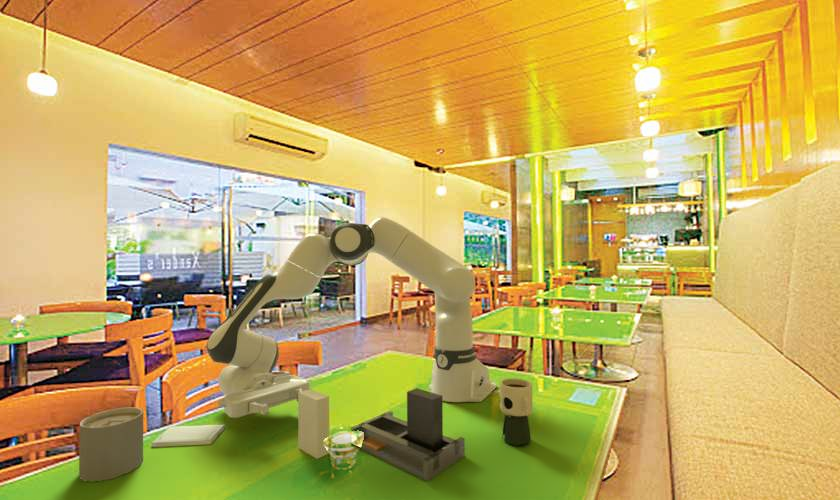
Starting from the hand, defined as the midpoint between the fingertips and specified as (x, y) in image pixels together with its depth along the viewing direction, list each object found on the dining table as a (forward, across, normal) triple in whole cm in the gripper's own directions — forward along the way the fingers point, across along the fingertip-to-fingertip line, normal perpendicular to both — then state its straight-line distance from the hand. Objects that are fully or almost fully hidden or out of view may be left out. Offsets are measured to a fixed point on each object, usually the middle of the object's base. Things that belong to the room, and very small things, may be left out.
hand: (285, 404), depth 92 cm
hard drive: (-16, -15, +8) cm, 23 cm away
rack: (+26, +13, +7) cm, 30 cm away
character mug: (+42, +32, +7) cm, 54 cm away
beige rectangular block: (+11, 0, +7) cm, 13 cm away
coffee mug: (-15, -29, +8) cm, 33 cm away
